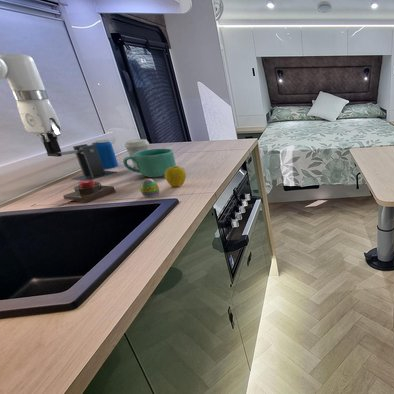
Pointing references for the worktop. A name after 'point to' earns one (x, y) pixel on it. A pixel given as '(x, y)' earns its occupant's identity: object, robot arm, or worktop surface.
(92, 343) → the worktop surface
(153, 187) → the egg
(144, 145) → the coffee cup
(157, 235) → the worktop surface
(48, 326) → the worktop surface
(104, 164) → the beverage can
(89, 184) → the stop button
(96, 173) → the toaster bracket
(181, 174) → the apple
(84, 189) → the button block
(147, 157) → the mug
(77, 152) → the toaster lever
